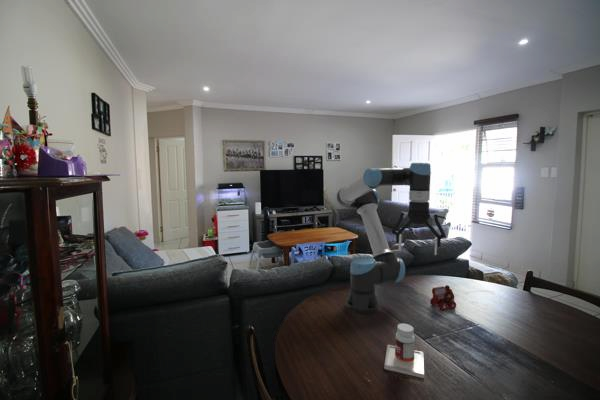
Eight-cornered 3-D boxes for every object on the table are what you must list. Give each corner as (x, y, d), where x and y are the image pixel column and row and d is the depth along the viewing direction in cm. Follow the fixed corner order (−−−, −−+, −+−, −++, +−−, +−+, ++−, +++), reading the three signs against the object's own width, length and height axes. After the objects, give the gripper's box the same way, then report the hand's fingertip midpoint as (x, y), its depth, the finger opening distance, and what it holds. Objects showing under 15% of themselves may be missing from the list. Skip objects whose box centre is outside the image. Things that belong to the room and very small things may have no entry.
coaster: (384, 368, 93) (384, 365, 93) (387, 347, 104) (387, 344, 104) (424, 378, 88) (424, 374, 88) (422, 355, 99) (423, 351, 99)
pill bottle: (392, 353, 99) (392, 323, 98) (408, 352, 99) (409, 321, 98) (399, 365, 93) (400, 332, 92) (417, 364, 93) (418, 331, 92)
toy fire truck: (459, 308, 133) (460, 287, 132) (438, 312, 129) (439, 291, 128) (447, 302, 140) (448, 282, 139) (427, 306, 136) (427, 285, 135)
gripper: (385, 200, 116) (384, 251, 118) (454, 203, 105) (452, 258, 107) (388, 199, 122) (387, 246, 125) (453, 201, 112) (450, 253, 114)
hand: (417, 252), depth 116 cm, fingers open, 13 cm apart
